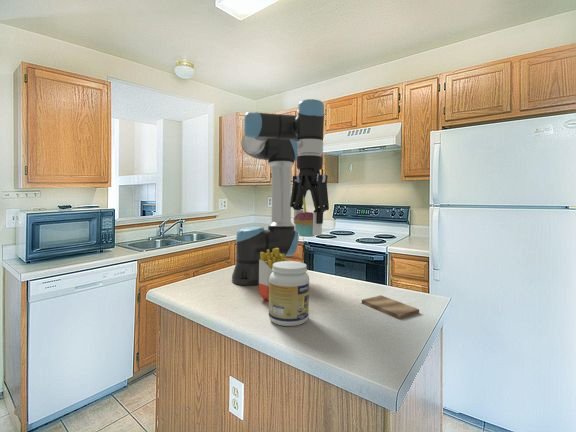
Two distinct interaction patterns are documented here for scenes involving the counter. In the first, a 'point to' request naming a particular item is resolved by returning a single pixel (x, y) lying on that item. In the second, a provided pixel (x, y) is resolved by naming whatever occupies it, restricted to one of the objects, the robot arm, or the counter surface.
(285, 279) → the supplement tub
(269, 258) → the french fries container
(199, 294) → the counter surface
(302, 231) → the cupcake
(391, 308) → the cutting board
